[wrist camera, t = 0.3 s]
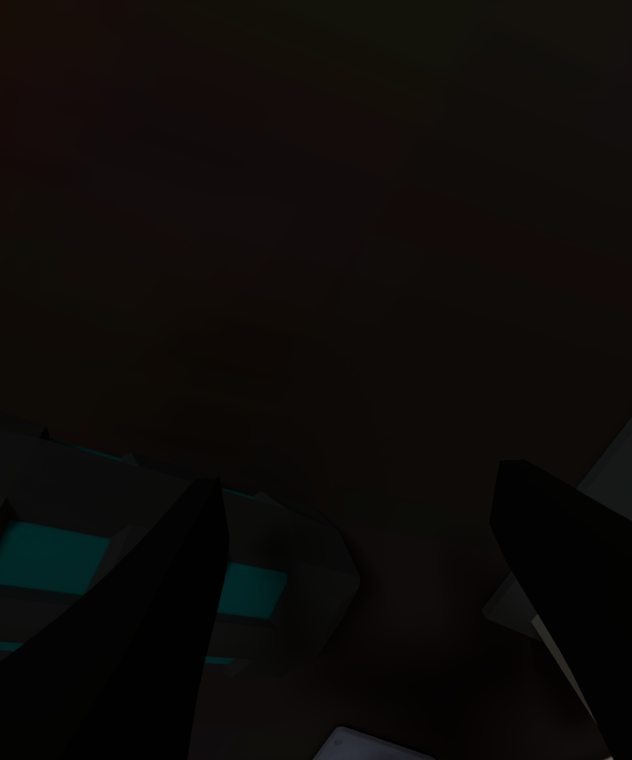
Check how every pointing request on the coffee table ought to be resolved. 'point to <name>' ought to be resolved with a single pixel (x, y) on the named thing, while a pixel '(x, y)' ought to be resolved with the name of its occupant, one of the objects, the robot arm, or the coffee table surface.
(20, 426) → the gun
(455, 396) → the coffee table surface
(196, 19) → the coffee table surface
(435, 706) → the coffee table surface
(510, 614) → the mat
